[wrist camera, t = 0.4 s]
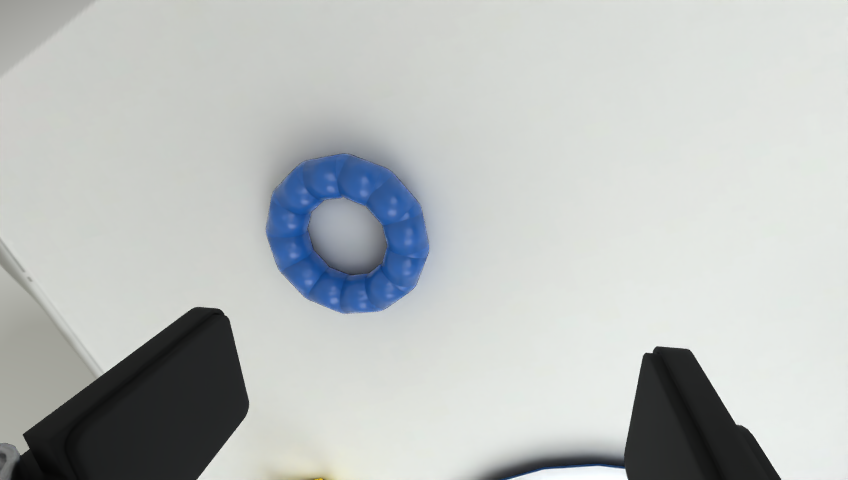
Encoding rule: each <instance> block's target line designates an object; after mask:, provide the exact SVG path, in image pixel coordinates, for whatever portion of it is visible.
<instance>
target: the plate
mask: <svg viewBox="0 0 848 480" xmlns="http://www.w3.org/2000/svg"><path fill="white" fill-rule="evenodd" d="M500 480H628V478H627V475H626V470H625V467H623V466H614V465H606V464H585V465H570V466H555V467H543V468H539V469H536V470H532V471H529V472H525V473H522V474H518V475H515V476H511V477H507V478H504V479H500Z"/></svg>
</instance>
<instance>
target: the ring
mask: <svg viewBox="0 0 848 480" xmlns="http://www.w3.org/2000/svg"><path fill="white" fill-rule="evenodd" d="M343 197H344V198H346V199H349V200H351V201H354V202H356V203H359V204H361V205H364V206H366V207H367V208H368V209H369V211H370V212H371V213H372V214H373V215H374V216H375V217H376V218H377V220H378V221H379V222H380V223H381V224H382V227H383V231H384V235H385V239H386V243H387V249H386V252H385V255H384V258H383V261H382V263H381V264H380V265H379V266H377V267H376V268H375V269H374V270H372V271H371V272H370V273H365V274H355V275H349V274H346V273H344V272H341V271H339V270H336V269H334V268H331V267H329V266H328V265H327V264H326V263H325V261H324V260H323V259H322V258H321V257H320V256H319V255H318V254H317V253H316V252H315V251H314V249H313V245H312V242H311V239H310V236H309V232H308V226H309V221H310V217H311V213H312V211H313V210H314V209H315V208H316V207H317V206H318V205H320V204H321V203H322V202H323V201H324V200H329V199H336V198H343ZM266 235H267V238H268V241H269V244H270V247H271V250H272V253H273V256H274V259H275V262H276V265H277V267H278V269H279V271H280V272H281V273H282V274H283V275H284V276H285V277H286V278H287V279H288V280H289V282H290V283H291V284H292V285H293V286H294V287H295V288H296V289H297V290H298V291H299V292H300V293H301V294H302V295H303V296H304V297H305V298H306V299H308V300H310V301H313V302H315V303H317V304H320V305H322V306H325V307H327V308H330V309H332V310H335V311H337V312H340V313H343V314H350V313H364V312H377V311H382V310H384V309H386V308H388V307H389V306H391V305H392V304H393V303H395V302H396V301H398V300H399V299H400V298H402V297H403V296H405V295H406V294H408V293H409V292H410V291H412V290H413V289H414V287H415V286H416V284H417V282H418V280H419V277H420V274H421V272H422V269H423V266H424V264H425V261H426V258H427V256H428V253H429V241H428V236H427V231H426V226H425V221H424V217H423V212H422V208H421V206H420V204H419V202H418V201H417V200H416V199H415V197H414V196H413V195H412V194H411V193H410V192H409V190H408V189H407V188H406V187H405V186H404V185H403V183H402V182H401V181H400V180H399V179H398V178H397V176H396V175H395V174H394V173H393V172H392V171H391V170H389V169H387V168H385V167H382V166H380V165H377V164H375V163H372V162H369V161H367V160H364V159H362V158H359V157H356V156H354V155H351V154H338V155H332V156H326V157H321V158H315V159H310V160H306V161H304V162H302V163H300V164H299V165H298V166H297V167H296V168H295V169H294V170H293V171H292V172H291V173H290V174H289V175H288V176H287V177H286V178H285V179H284V180H283V181H282V182H281V183H280V184H279V185H278V186H277V187H276V188H275V190H274V191H273V193H272V197H271V202H270V208H269V213H268V219H267V224H266Z"/></svg>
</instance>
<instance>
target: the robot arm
mask: <svg viewBox="0 0 848 480" xmlns="http://www.w3.org/2000/svg"><path fill="white" fill-rule="evenodd" d="M248 409H249V400H248V396H247V391H246V387H245V383H244V379H243V375H242V371H241V366H240V362H239V358H238V354H237V350H236V346H235V341H234V337H233V333H232V329H231V325H230V321H229V318H228V317H227V316H225V315H224V313H223V312H222V310H220V309H216V308H204V307H195V308H193V309H191V310H190V311H188V312H187V313H185V314H184V315H183V316H181V317H180V318H179V319H177V320H176V321H175V322H173V323H172V324H171V325H169V326H168V327H167V328H165V329H164V330H163V331H161V332H160V333H159V334H157V335H156V336H155V337H153V338H152V339H150V340H149V341H148V342H146V343H145V344H144V345H142V346H141V347H140V348H138V349H137V350H136V351H134V352H133V353H132V354H130V355H129V356H128V357H126V358H125V359H124V360H122V361H121V362H120V363H118V364H117V365H115V366H114V367H113V368H111V369H110V370H109V371H107V372H106V373H105V374H103V375H102V376H101V377H99V378H98V379H97V380H95V381H94V382H93V383H91V384H90V385H89V386H87V387H86V388H85V389H83V390H82V391H80V392H79V393H78V394H77V395H75V396H74V397H73V398H71V399H70V400H68V401H67V402H66V403H64V404H63V405H62V406H60V407H59V408H58V409H56V410H55V411H54V412H52V413H51V414H50V415H48V416H47V417H45V418H44V419H43V420H42V421H40V422H39V423H37V424H36V425H35V426H33V427H32V428H31V429H29V430H28V431H27V432H25V433H24V434H23V436H24V438H25V440H26V442H27V444H28V446H29V448H30V449H29V450H28V451H27V452H25V453H24V454H23V455H20V454H19V452H18V450H17V449H16V447H15V446H14V445H11V444H8V443H0V480H197V479H198V477H199V476H200V475H201V473H202V472H203V471H204V470H205V468H206V467H207V466H208V464H209V463H210V462H211V461H212V459H213V458H214V457H215V455H216V454H217V453H218V452H219V450H220V449H221V448H222V446H223V445H224V444H225V443H226V441H227V440H228V439H229V437H230V436H231V435H232V434H233V432H234V431H235V430H236V428H237V427H238V426H239V425H240V423H241V422H242V421H243V419H244V418H245V416H246V414H247V412H248ZM624 463H625V470H626V475H627V478H628V480H781V478H780V477H779V475H778V474H777V472H776V471H775V469H774V467H773V466H772V464H771V463H770V461H769V460H768V458H767V457H766V455H765V453H764V452H763V450H762V449H761V447H760V446H759V444H758V442H757V441H756V439H755V438H754V436H753V435H752V434H751V433H750V431H749V430H748V429H746V428H745V427H743V426H741V425H736V424H735V422H734V420H733V419H732V417H731V415H730V414H729V412H728V411H727V409H726V407H725V406H724V404H723V402H722V401H721V399H720V397H719V396H718V394H717V392H716V391H715V389H714V388H713V386H712V384H711V383H710V381H709V379H708V378H707V376H706V374H705V373H704V371H703V370H702V368H701V366H700V365H699V363H698V361H697V360H696V358H695V356H694V355H693V353H692V352H691V351H690V350H688V349H682V348H670V347H658V346H657V347H655V349H654V350H653V353H645V354H644V355H643V359H642V364H641V369H640V374H639V379H638V385H637V390H636V395H635V400H634V405H633V411H632V416H631V421H630V426H629V432H628V437H627V442H626V447H625V453H624Z"/></svg>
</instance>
